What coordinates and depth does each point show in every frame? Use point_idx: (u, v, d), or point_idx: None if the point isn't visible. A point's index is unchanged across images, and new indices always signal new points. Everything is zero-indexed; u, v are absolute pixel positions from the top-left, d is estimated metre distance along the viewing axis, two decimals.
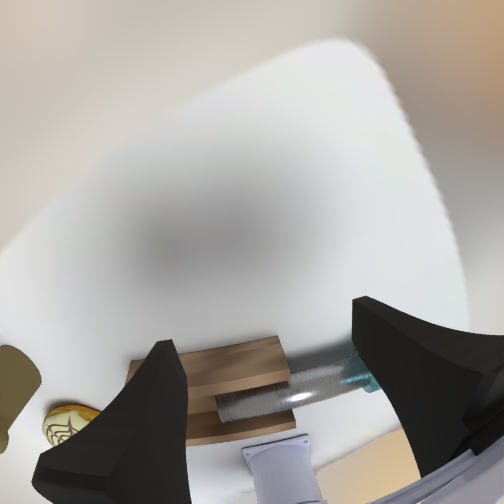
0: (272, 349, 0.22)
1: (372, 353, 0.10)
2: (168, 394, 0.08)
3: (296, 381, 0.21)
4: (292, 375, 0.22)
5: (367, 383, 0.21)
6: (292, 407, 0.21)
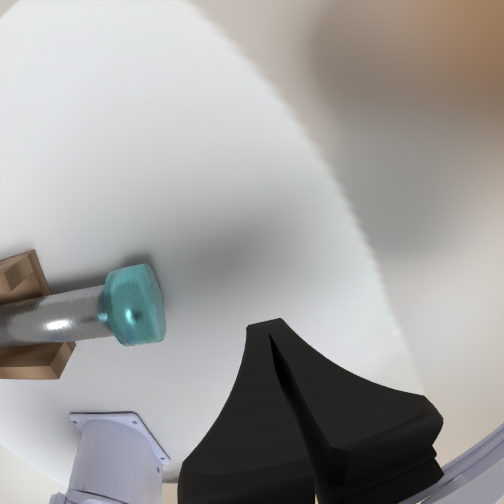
0: (16, 260, 0.15)
1: (280, 380, 0.09)
2: None
3: (32, 303, 0.14)
4: (36, 298, 0.15)
5: None
6: (30, 339, 0.14)
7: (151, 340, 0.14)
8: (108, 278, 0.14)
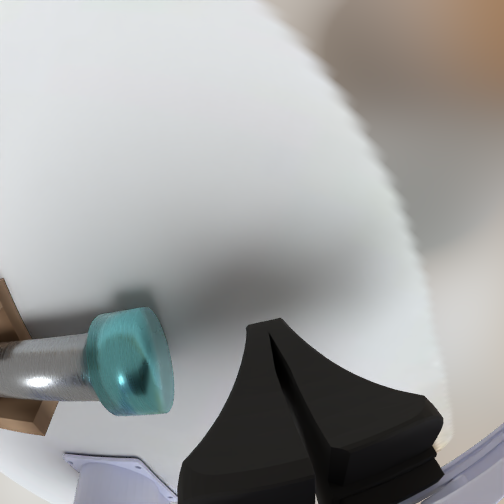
0: None
1: (280, 380, 0.09)
2: None
3: (1, 351, 0.09)
4: (7, 342, 0.10)
5: None
6: (4, 394, 0.09)
7: (157, 413, 0.10)
8: (92, 331, 0.09)
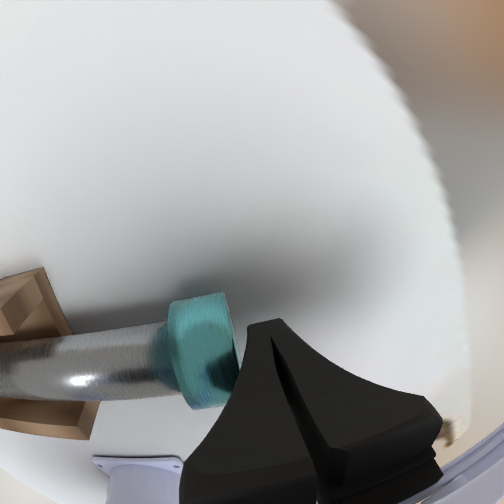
0: (17, 283, 0.10)
1: (280, 380, 0.09)
2: None
3: (45, 348, 0.10)
4: (50, 338, 0.10)
5: (178, 386, 0.10)
6: (46, 396, 0.09)
7: None
8: (172, 318, 0.10)
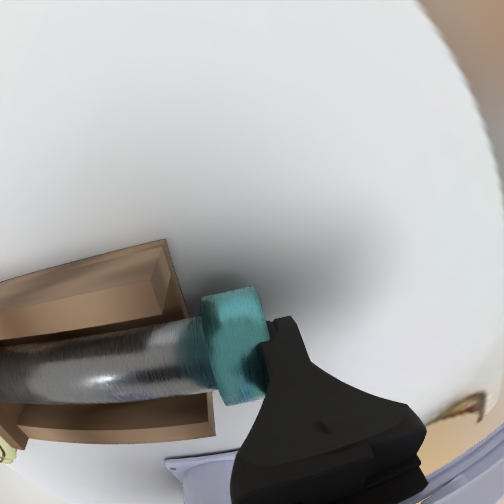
0: (141, 255, 0.10)
1: None
2: None
3: (64, 350, 0.10)
4: (68, 339, 0.10)
5: (211, 383, 0.10)
6: (66, 400, 0.09)
7: None
8: (206, 313, 0.10)
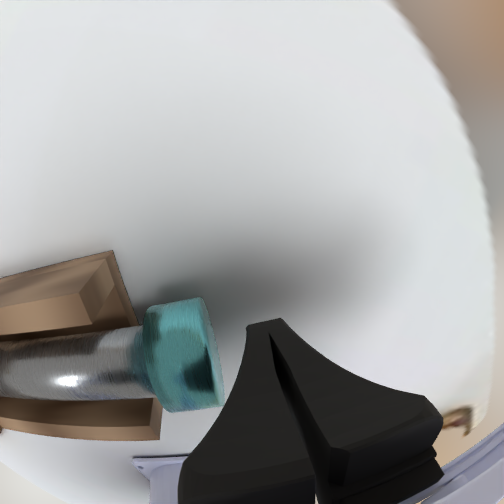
0: (85, 267, 0.10)
1: (280, 380, 0.09)
2: None
3: (31, 349, 0.10)
4: (36, 339, 0.10)
5: None
6: (32, 395, 0.09)
7: (214, 406, 0.10)
8: (147, 323, 0.10)
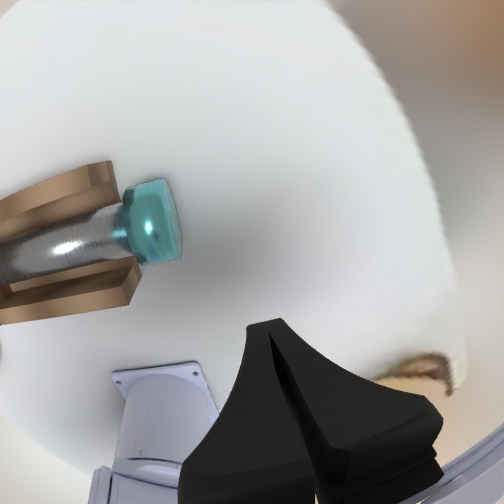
0: None
1: (280, 380, 0.09)
2: None
3: (42, 227, 0.14)
4: (46, 225, 0.15)
5: (127, 238, 0.14)
6: (35, 266, 0.14)
7: (168, 252, 0.14)
8: (128, 189, 0.14)
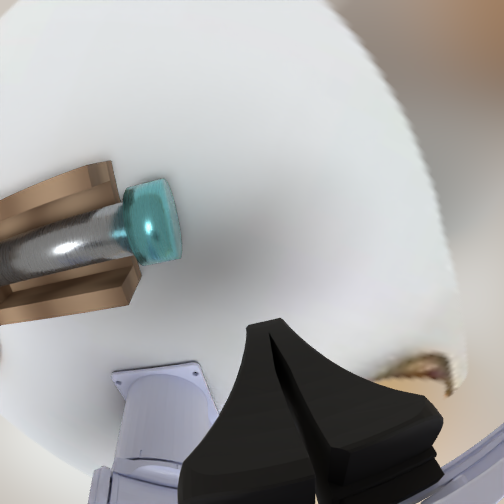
0: None
1: (280, 380, 0.09)
2: None
3: (42, 227, 0.14)
4: (46, 225, 0.15)
5: (127, 238, 0.14)
6: (35, 266, 0.14)
7: (168, 252, 0.14)
8: (128, 189, 0.14)
